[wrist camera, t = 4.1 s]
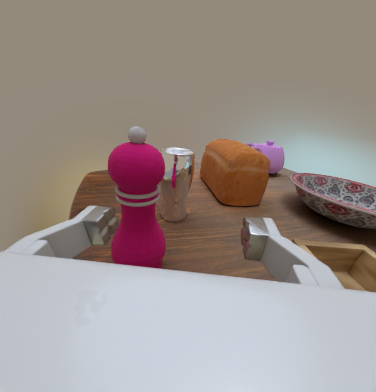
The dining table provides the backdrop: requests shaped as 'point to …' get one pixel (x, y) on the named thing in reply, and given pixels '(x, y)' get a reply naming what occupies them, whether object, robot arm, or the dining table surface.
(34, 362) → the robot arm
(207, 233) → the dining table surface
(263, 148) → the teapot
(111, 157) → the pepper mill
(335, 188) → the ceramic bowl
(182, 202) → the metal cup
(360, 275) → the divided wooden box
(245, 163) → the bread
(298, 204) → the dining table surface
